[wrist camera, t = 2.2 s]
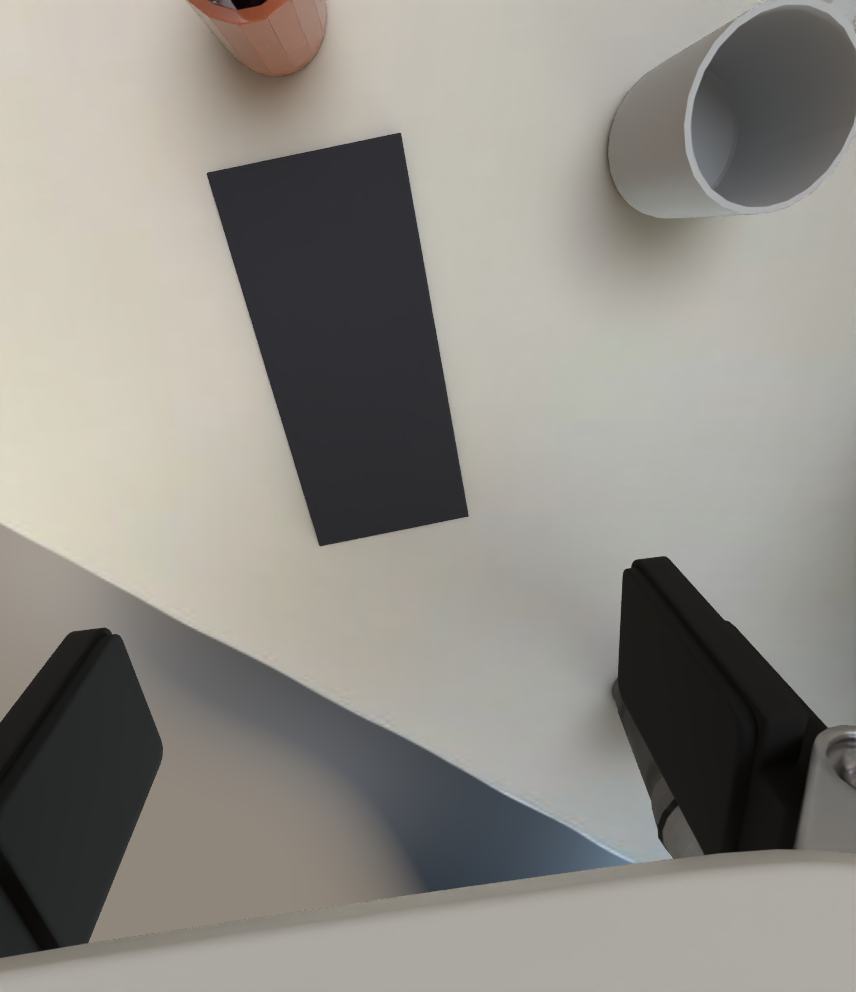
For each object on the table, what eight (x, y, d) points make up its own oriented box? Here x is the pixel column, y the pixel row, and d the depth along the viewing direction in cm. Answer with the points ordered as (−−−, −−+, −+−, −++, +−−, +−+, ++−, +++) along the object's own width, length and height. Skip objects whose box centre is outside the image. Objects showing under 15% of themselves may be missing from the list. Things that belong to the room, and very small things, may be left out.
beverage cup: (581, 715, 47) (708, 1019, 29) (615, 643, 44) (779, 928, 26) (663, 728, 48) (834, 1027, 30) (701, 658, 46) (914, 940, 27)
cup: (576, 158, 31) (645, 131, 23) (717, -33, 28) (853, -141, 20) (668, 247, 33) (762, 252, 25) (808, 79, 30) (965, 22, 22)
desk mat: (400, 133, 30) (400, 132, 30) (467, 513, 39) (468, 516, 39) (208, 173, 30) (206, 172, 30) (320, 543, 39) (319, 546, 39)
